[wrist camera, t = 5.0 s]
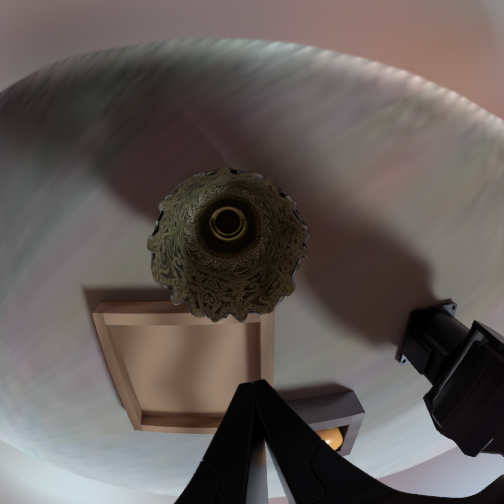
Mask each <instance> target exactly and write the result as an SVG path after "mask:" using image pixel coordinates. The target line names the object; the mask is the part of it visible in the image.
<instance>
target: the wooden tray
mask: <svg viewBox="0 0 504 504" xmlns="http://www.w3.org/2000/svg"><path fill="white" fill-rule="evenodd" d="M182 302H183V301H182ZM92 315H93V318H94V322H95V326H96V329H97V333H98V336H99V339H100V342H101V346H102V349H103V352H104V355H105V358H106V361H107V364H108V367H109V369H110V372H111V375H112V378H113V380H114V383H115V386H116V388H117V391H118V393H119V396H120V398H121V400H122V403H123V405H124V408H125V410H126V412H127V414H128V417H129V419H130V421H131V423H132V425H133V428H134V430H141V431H152V432H166V433H190V434H215V433H216V431H217V429H218V427H219V424H220V422H221V420H222V418H223V416H224V414H225V412H226V410H227V408H228V406H229V404H230V402H231V400H232V397H233V395H234V393H235V391H236V389H237V387H238V385H239V384H240V383H245V382H253V381H255V380H260V379H265V380H266V381H267V382H268V383H269V384H270V385H271V386H272V387H273V373H274V312H272V313H268V314H262V315H258V314H255V313H252V314H249V315H248V316H247V318H246V320H245V321H244V322H243V323H241V322H239V321H238V320H236V319H234V317H233V316H232V315H231V314H229V316H228V317H227V318H223V319H222V320H220V321H218V322H216V323H213V322H212V321H211V320H210V319H209V318H207V316H205V318H197V317H195V316H193V315H192V314H191V313H190V312H189V309H188V306H187V301H185V302H183V303H181V304H178V305H174V304H173V303H172V301H155V302H101V303H100V304H99V305H98V307H97V308H96V309H95V310H94V311H93V313H92Z"/></svg>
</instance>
